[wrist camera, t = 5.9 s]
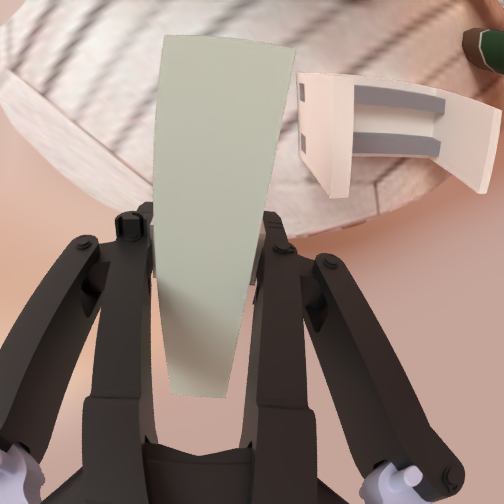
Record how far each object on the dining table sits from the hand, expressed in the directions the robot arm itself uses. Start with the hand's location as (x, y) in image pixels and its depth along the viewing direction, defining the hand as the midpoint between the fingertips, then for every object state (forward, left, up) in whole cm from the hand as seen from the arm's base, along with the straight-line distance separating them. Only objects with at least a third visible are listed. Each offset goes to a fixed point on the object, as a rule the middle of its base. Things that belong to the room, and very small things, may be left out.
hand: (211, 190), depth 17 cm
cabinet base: (0, +22, -23) cm, 32 cm away
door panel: (0, 0, -3) cm, 3 cm away
